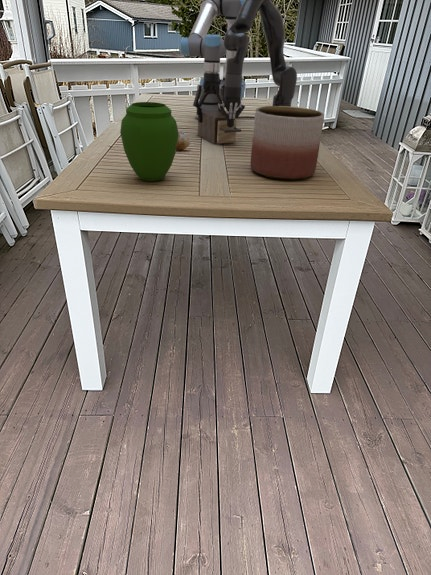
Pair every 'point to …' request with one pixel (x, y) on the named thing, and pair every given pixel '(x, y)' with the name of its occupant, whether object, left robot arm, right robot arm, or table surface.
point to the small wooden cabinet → (210, 125)
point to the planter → (286, 142)
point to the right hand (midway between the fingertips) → (230, 127)
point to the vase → (149, 139)
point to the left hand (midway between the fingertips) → (209, 121)
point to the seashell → (182, 141)
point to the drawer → (226, 132)
